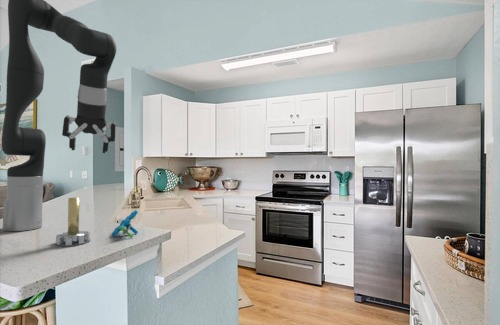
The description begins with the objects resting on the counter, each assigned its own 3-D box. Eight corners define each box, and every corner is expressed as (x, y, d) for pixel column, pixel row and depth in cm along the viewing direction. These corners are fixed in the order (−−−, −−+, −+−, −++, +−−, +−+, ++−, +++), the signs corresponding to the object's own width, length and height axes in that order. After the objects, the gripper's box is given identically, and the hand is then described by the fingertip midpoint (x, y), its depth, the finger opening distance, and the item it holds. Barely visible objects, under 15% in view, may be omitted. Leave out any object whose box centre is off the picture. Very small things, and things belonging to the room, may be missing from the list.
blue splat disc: (114, 226, 90) (137, 204, 90) (128, 237, 91) (150, 216, 92) (104, 239, 79) (131, 215, 80) (120, 252, 80) (146, 228, 81)
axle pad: (51, 247, 71) (51, 246, 71) (62, 239, 79) (62, 238, 79) (86, 245, 74) (86, 244, 74) (93, 237, 82) (93, 236, 82)
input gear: (51, 246, 72) (52, 200, 72) (62, 238, 79) (62, 196, 79) (85, 244, 74) (86, 199, 74) (92, 236, 81) (93, 196, 81)
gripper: (118, 103, 90) (114, 149, 95) (66, 94, 84) (64, 144, 88) (117, 107, 83) (112, 157, 88) (61, 98, 77) (59, 152, 82)
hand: (88, 151), depth 88 cm, fingers open, 8 cm apart
